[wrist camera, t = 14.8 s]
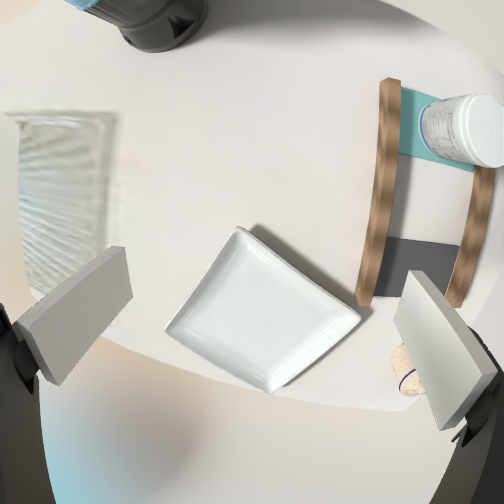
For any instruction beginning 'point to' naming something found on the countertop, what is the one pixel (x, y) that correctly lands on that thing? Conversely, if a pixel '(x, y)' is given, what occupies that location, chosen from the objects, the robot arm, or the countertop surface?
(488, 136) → the supplement tub
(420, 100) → the pad
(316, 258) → the countertop surface
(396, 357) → the teacup with lid
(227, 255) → the square plate
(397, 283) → the trap mat
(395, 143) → the channel rails
